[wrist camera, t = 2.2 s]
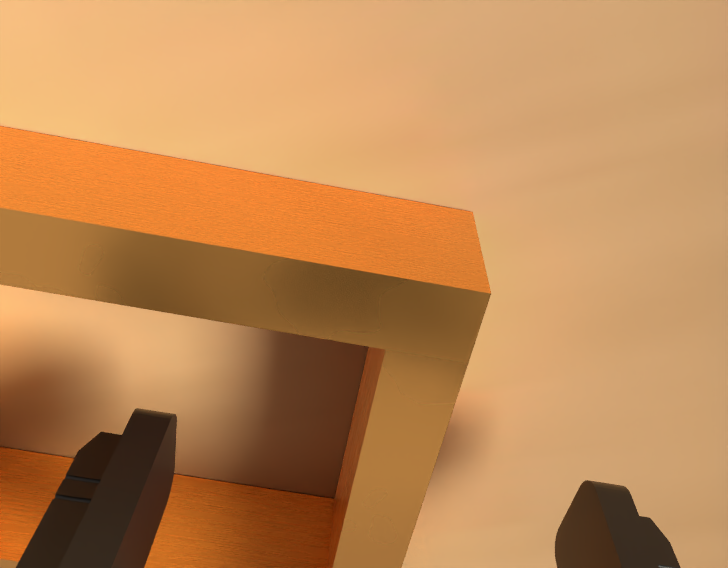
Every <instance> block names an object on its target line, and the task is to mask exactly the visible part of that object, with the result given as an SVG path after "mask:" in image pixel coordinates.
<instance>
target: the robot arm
mask: <svg viewBox="0 0 728 568" xmlns="http://www.w3.org/2000/svg"><path fill="white" fill-rule="evenodd" d="M176 426H177V417H176V414H170V413H163V412H157V411H151V410H144V409H138V408H137V409H135V411H134V412H133V414H132V416H131V418H130V420H129V422H128V424H127V426H126V428H125V430H124V432H123V434H122V435H118V434H112V433H105V432H100V433H99V434H98V435H97V436H96V437H94V438H93V439H92V440H91V441H90V442H88V443H87V444H86V445H85V446H84V447H83V448H81V449H80V450H79V451H78V453H77V455H76V457H75V458H74V460H73V462H72V464H71V466H70V468H69V470H68V471H67V473H66V477H65V479H63V481H62V483H61V484H60V486H59V488H58V490H57V492H56V494H55V498H54V499H52V501H51V503H50V505H49V507H48V508H47V510H46V512H45V514H44V516H43V518H42V520H41V521H40V523H39V525H38V527H37V529H36V531H35V533H34V534H33V536H32V538H31V540H30V542H29V544H28V545H27V547H26V549H25V551H24V553H23V555H22V557H21V558H20V560H19V562H18V564H17V566H16V568H144V567H145V564H146V561H147V558H148V556H149V553H150V550H151V547H152V544H153V542H154V539H155V536H156V533H157V530H158V527H159V525H160V522H161V519H162V516H163V513H164V510H165V508H166V505H167V502H168V499H169V495H170V491H171V487H172V482H173V476H174V467H175V447H176ZM555 558H556V563H557V568H680V565H679V563H678V561H677V558H676V556H675V554H674V551H673V549H672V546H671V544H670V542H669V541H668V539H667V538H666V537H665V536H664V534H663V533H662V532H661V531H660V530H659V528H658V527H657V526H656V525H655V523H654V522H653V521H652V520H651V519H650V518H648V517H642V516H639V514H638V512H637V509H636V507H635V504H634V502H633V499H632V496H631V494H630V492H629V490H628V489H627V488H626V487H624V486H620V485H614V484H607V483H601V482H594V481H588V480H587V481H584V482H583V483H582V484H581V486H580V488H579V490H578V492H577V493H576V495H575V497H574V499H573V501H572V503H571V505H570V507H569V509H568V511H567V513H566V515H565V517H564V519H563V521H562V523H561V525H560V527H559V529H558V532H557V536H556V541H555Z"/></svg>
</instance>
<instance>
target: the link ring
mask: <svg viewBox="0 0 728 568" xmlns="http://www.w3.org/2000/svg"><path fill="white" fill-rule="evenodd" d="M0 284H1V285H7V286H13V287H19V288H25V289H31V290H37V291H43V292H49V293H54V294H60V295H66V296H72V297H78V298H84V299H90V300H96V301H102V302H108V303H114V304H119V305H125V306H131V307H137V308H143V309H149V310H155V311H161V312H167V313H173V314H179V315H185V316H190V317H196V318H202V319H208V320H214V321H220V322H226V323H232V324H238V325H244V326H250V327H255V328H261V329H267V330H273V331H279V332H285V333H291V334H297V335H303V336H309V337H315V338H320V339H326V340H332V341H338V342H344V343H350V344H356V345H362V346H368V352H367V356H366V360H365V365H364V369H363V374H362V378H361V383H360V387H359V391H358V396H357V400H356V405H355V409H354V414H353V418H352V423H351V427H350V431H349V436H348V440H347V445H346V449H345V454H344V458H343V462H342V467H341V471H340V476H339V480H338V485H337V489H336V494H335V498H334V499H331V498H324V497H318V496H312V495H305V494H299V493H292V492H286V491H279V490H273V489H267V488H260V487H254V486H247V485H241V484H235V483H228V482H222V481H215V480H209V479H203V478H196V477H190V476H183V475H177V474H174V476H173V482H172V487H171V491H170V495H169V499H168V502H167V505H166V508H165V510H164V513H163V516H162V519H161V522H160V525H159V527H158V530H157V533H156V536H155V539H154V542H153V544H152V547H151V550H150V553H149V556H148V558H147V561H146V564H145V567H144V568H401V567H402V564H403V561H404V558H405V555H406V552H407V549H408V545H409V542H410V539H411V536H412V533H413V530H414V527H415V524H416V521H417V518H418V515H419V512H420V509H421V506H422V503H423V500H424V497H425V494H426V491H427V487H428V484H429V481H430V478H431V475H432V472H433V469H434V466H435V463H436V460H437V457H438V454H439V451H440V448H441V445H442V442H443V439H444V436H445V433H446V430H447V426H448V423H449V420H450V417H451V414H452V411H453V408H454V405H455V402H456V399H457V396H458V393H459V390H460V387H461V384H462V381H463V378H464V375H465V372H466V368H467V365H468V362H469V359H470V356H471V353H472V350H473V347H474V344H475V341H476V338H477V335H478V332H479V329H480V326H481V323H482V320H483V317H484V314H485V310H486V307H487V304H488V301H489V298H490V295H491V291H490V287H489V282H488V278H487V274H486V269H485V265H484V260H483V256H482V252H481V247H480V243H479V238H478V234H477V230H476V225H475V221H474V216H473V212H470V211H464V210H459V209H453V208H448V207H442V206H437V205H431V204H426V203H420V202H415V201H409V200H404V199H398V198H393V197H387V196H382V195H376V194H371V193H365V192H360V191H354V190H349V189H343V188H338V187H332V186H327V185H321V184H316V183H310V182H305V181H299V180H294V179H288V178H283V177H277V176H272V175H266V174H261V173H255V172H250V171H244V170H239V169H233V168H228V167H222V166H217V165H211V164H206V163H200V162H195V161H189V160H184V159H178V158H173V157H167V156H162V155H156V154H151V153H145V152H140V151H134V150H129V149H123V148H118V147H112V146H107V145H101V144H96V143H90V142H85V141H79V140H74V139H68V138H63V137H57V136H52V135H46V134H41V133H35V132H30V131H24V130H19V129H13V128H8V127H2V126H0ZM73 460H74V458H68V457H62V456H55V455H49V454H42V453H36V452H30V451H23V450H17V449H10V448H4V447H0V568H16V566H17V564H18V562H19V560H20V558H21V557H22V555H23V553H24V551H25V549H26V547H27V545H28V544H29V542H30V540H31V538H32V536H33V534H34V533H35V531H36V529H37V527H38V525H39V523H40V521H41V520H42V518H43V516H44V514H45V512H46V510H47V508H48V507H49V505H50V503H51V501H52V499H54V498H55V494H56V492H57V490H58V488H59V486H60V484H61V483H62V481H63V479H65V477H66V473H67V471H68V470H69V468H70V466H71V464H72V462H73Z"/></svg>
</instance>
